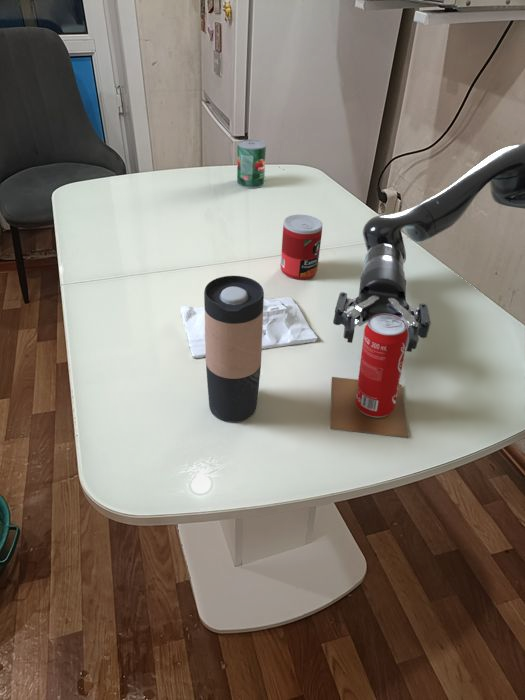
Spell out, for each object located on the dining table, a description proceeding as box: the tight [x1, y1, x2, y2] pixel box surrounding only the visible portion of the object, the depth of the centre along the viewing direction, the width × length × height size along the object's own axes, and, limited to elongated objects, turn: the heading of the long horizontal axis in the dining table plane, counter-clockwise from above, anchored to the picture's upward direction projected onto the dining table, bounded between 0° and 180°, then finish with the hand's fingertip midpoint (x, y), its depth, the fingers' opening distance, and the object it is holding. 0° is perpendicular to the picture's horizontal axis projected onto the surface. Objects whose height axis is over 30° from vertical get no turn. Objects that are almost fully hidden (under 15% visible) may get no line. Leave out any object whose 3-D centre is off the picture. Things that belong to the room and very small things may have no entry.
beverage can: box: [356, 314, 408, 418], centre depth 72 cm, size 6×6×15 cm
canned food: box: [280, 214, 323, 280], centre depth 105 cm, size 8×8×11 cm
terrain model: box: [179, 296, 318, 359], centre depth 90 cm, size 17×23×5 cm
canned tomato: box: [236, 139, 267, 189], centre depth 143 cm, size 8×8×11 cm
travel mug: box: [203, 275, 265, 423], centre depth 70 cm, size 8×8×20 cm
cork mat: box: [330, 376, 410, 439], centre depth 77 cm, size 11×11×1 cm
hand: (380, 342), depth 74 cm, fingers open, 8 cm apart
